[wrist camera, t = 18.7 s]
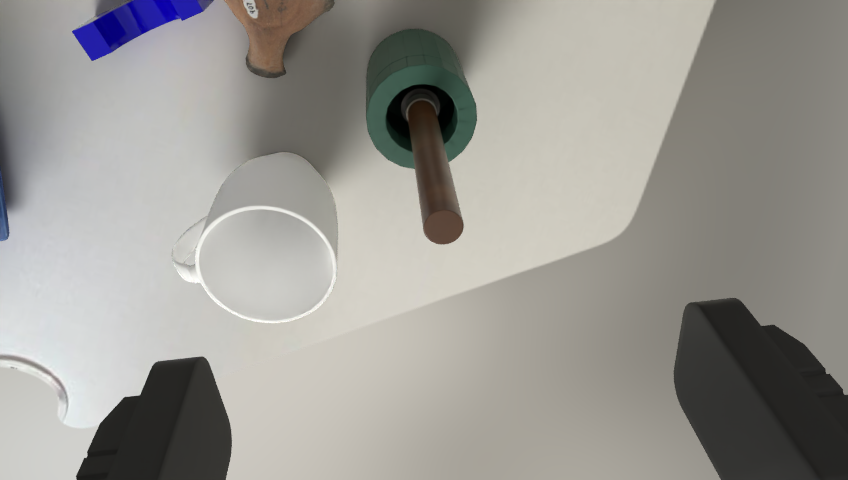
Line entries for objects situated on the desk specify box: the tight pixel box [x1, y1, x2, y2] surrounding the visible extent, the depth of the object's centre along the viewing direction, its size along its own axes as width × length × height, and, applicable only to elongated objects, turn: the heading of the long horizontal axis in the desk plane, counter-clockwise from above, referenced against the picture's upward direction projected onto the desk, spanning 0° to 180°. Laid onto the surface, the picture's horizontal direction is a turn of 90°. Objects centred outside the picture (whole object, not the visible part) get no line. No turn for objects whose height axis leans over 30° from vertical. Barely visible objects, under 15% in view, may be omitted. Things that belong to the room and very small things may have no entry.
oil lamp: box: [224, 0, 334, 78], centre depth 42 cm, size 9×4×8 cm
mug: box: [172, 152, 338, 323], centre depth 46 cm, size 12×9×12 cm
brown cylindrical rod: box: [399, 84, 463, 244], centre depth 38 cm, size 3×3×21 cm
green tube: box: [366, 29, 477, 169], centre depth 44 cm, size 7×7×8 cm
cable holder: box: [72, 0, 214, 61], centre depth 41 cm, size 8×4×4 cm, turn 112°
